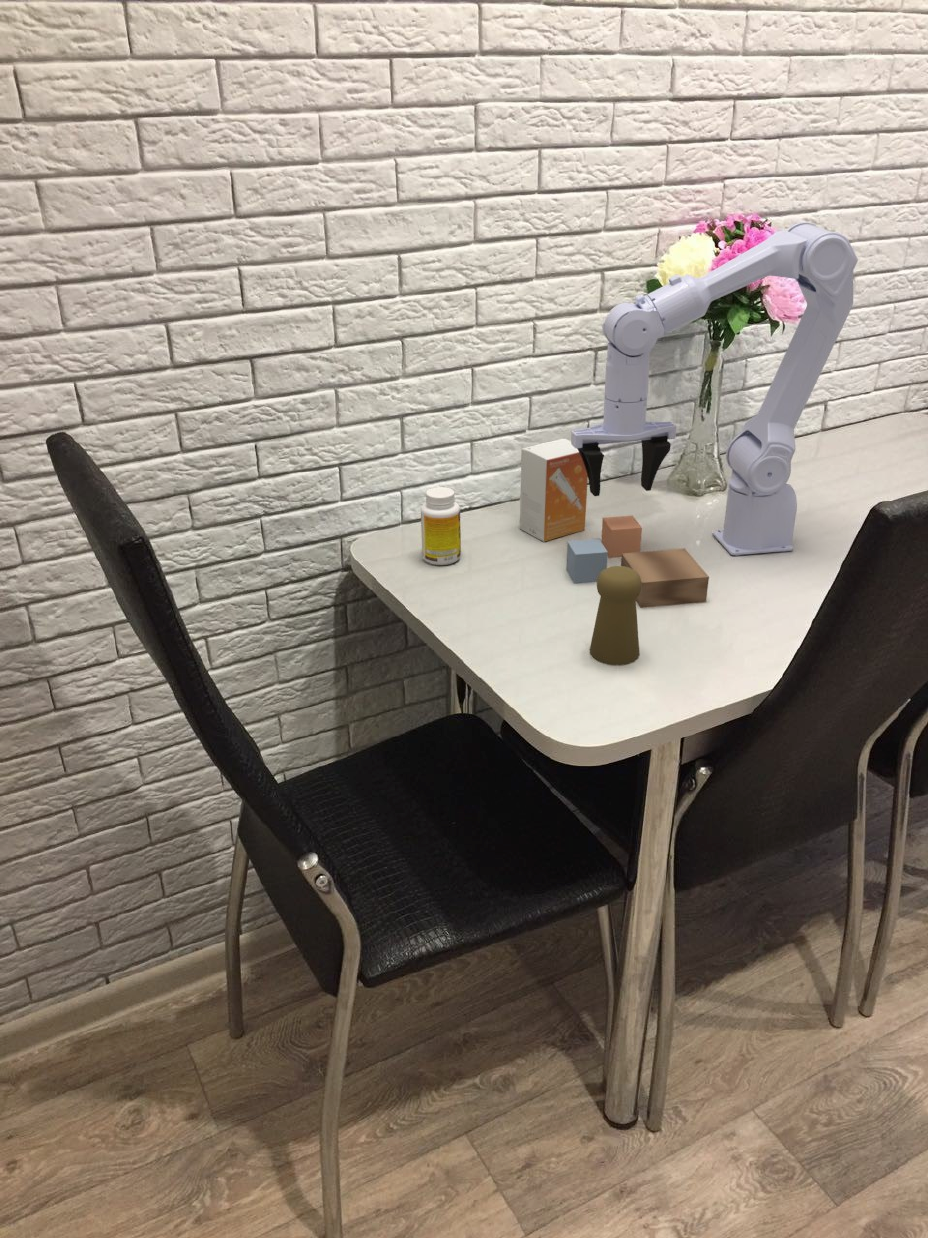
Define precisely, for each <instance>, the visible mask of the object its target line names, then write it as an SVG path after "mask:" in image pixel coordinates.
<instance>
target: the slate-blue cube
mask: <svg viewBox="0 0 928 1238" xmlns="http://www.w3.org/2000/svg"><path fill="white" fill-rule="evenodd" d="M566 542H567V543H566V544H567V545H566V568H565V571H566V572H567V574H568V576H569V577H570V579H571V581H572V582H573V585H575V584H576V585H577V584H578V585H579V584H590V583H597V579H598V576H599V574H600V573H601V572H602V570H604V569H606V568H608V559H609V557H608V552H607V550H606V549H605V547H604V546H603V544H602V542H601V538H590V539H589V538H588V539H578V540H577V539H575V540H567V541H566Z"/></svg>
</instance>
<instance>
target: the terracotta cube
mask: <svg viewBox="0 0 928 1238" xmlns="http://www.w3.org/2000/svg"><path fill="white" fill-rule="evenodd" d="M601 524H602V526H601V538H600V541H601V542H602V544H603V546H604V547H605V549H606V550H607V552H608V559H618V558H619V559H620V558H622V554H623V553H635V552H641V547H642V546H641V543H642V531H643V527H642V525H641V524H640V523H639V522H638V520H637V519H636V518H635V516H633V515H622V516H607V517H606V516H605V517H602V523H601Z"/></svg>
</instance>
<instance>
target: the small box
mask: <svg viewBox="0 0 928 1238" xmlns="http://www.w3.org/2000/svg"><path fill="white" fill-rule="evenodd" d="M520 451H521V453H520V454H521V459H520V460H521V463H520V501H519V502H520V504H519V507H520V509H519V510H520V511H519V513H520V514H519V529H520V530H522V531H523V532H526V533H527V534H529V535H531V536H532V537H534V538H536V539H538V540H539V541H541V542H547V541H552V540H553V539H557V538H561V537H564V536H567V535H571V534H575V533H578V532H583V531H585V530H586V514H587V513H586V512H587V499H588V498H587V497H588V483H589V480H588V476H587V472H586V468H585V465H584V463H583V460H582V458H581V455H580V453H579V451H578V449H577V448H575V447H573V446H572V444H571V440H569V439H566V438H559V439H555V440H553V441H546V442H542V443H538V444H535V445H530V446H527V447H522V448H521V450H520Z"/></svg>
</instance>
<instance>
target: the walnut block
mask: <svg viewBox="0 0 928 1238" xmlns="http://www.w3.org/2000/svg"><path fill="white" fill-rule="evenodd" d="M620 558H621V560H620V561H621V563H620V566H624V567H629V568H631V569H633V570H635V571H636V572H637V573H638V574H639V576H640V578H641V583H642V587H641V591H640V594H639V595H638V597H637V598H636V605H638V606H639V608H640V609H643V608H644V609H645V608H654V607H665V606H675V605H676V606H677V605H687V604H699V603H707V598H708V597H707V596H708V589H709V581H710V576H709V575H708V574H707V573H706V571H705V570H704V569H703V568H702V567H701V566H700V565H699V563H698V562H697V561H696V560H695V559H694V558H693V556H692V555H691V554H690V552H689V551H688V550H687V549H686V548H673V549H662V550H660V549H659V550H648V551H640V552H635V553H623V554H622V557H620Z"/></svg>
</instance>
